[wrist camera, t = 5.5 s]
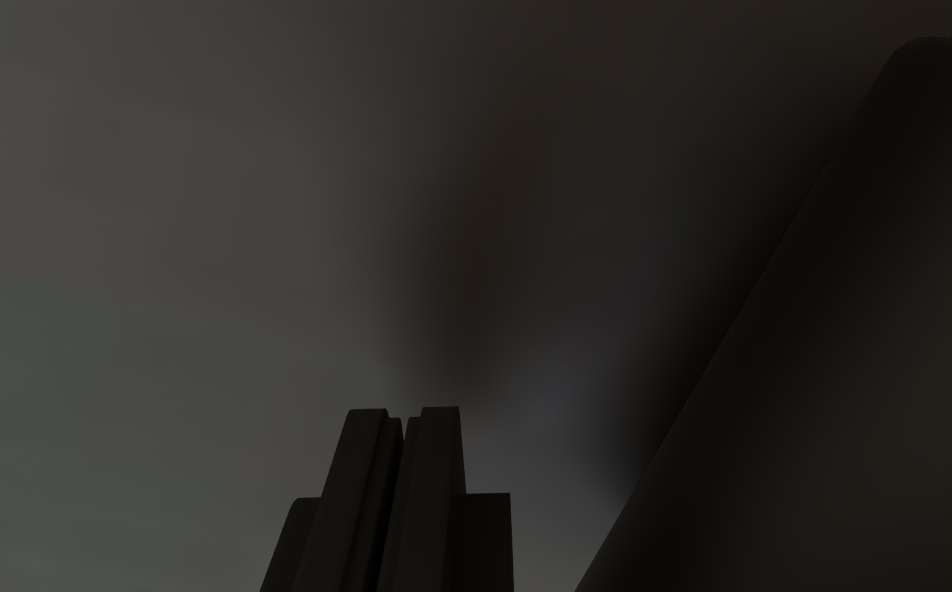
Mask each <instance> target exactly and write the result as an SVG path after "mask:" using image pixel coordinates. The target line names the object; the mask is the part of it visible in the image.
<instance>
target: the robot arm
mask: <svg viewBox="0 0 952 592" xmlns="http://www.w3.org/2000/svg"><path fill="white" fill-rule="evenodd" d="M260 592H514V579H513V550H512V526H511V504H510V493H481V494H466V485H465V472H464V460H463V448H462V436H461V424H460V413H459V407H458V406H451V407H423V408H422V412H421V417H409V419H408V424H407V429H406V434H405V440H404V439H403V431H402V424H401V420H400V418H389V415H388V412H387V410H386V409H385V408H384V409H352V410H350V411H349V412H348V414H347V417H346V420H345V423H344V427H343V430H342V433H341V436H340V439H339V442H338V445H337V448H336V452H335V455H334V458H333V461H332V464H331V467H330V470H329V474H328V477H327V480H326V483H325V486H324V489H323V492H322V495H321V497H316V498H297V499H296V500H295V501H294V502H293V504H292V506H291V508H290V510H289V513H288V516H287V518H286V521H285V524H284V527H283V529H282V532H281V535H280V538H279V540H278V543H277V546H276V548H275V551H274V554H273V557H272V559H271V562H270V565H269V567H268V570H267V573H266V576H265V578H264V581H263V584H262V586H261V589H260Z"/></svg>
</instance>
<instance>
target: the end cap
mask: <svg viewBox="0 0 952 592" xmlns="http://www.w3.org/2000/svg"><path fill="white" fill-rule="evenodd" d="M575 592H952V38H947V37H934V36H930V37H920V38H917V39H914V40H912V41H909V42H907V43H905V44H904V45H903V46H901V47H900V48H898V49H897V50H896V51H894V53H893V54H892V55H891V56H890V58H889V59H888V60H887V62H886V63H885V65H884V67H883V68H882V70H881V72H880V74H879V75H878V77H877V79H876V80H875V82H874V84H873V85H872V87H871V89H870V91H869V92H868V94H867V96H866V97H865V99H864V101H863V102H862V104H861V106H860V108H859V109H858V111H857V113H856V114H855V116H854V118H853V119H852V121H851V123H850V125H849V126H848V128H847V130H846V131H845V133H844V135H843V136H842V138H841V140H840V142H839V143H838V145H837V147H836V148H835V150H834V152H833V153H832V155H831V157H830V159H829V160H828V162H827V164H826V165H825V167H824V169H823V170H822V172H821V174H820V176H819V177H818V179H817V181H816V182H815V184H814V186H813V187H812V189H811V191H810V193H809V194H808V196H807V198H806V199H805V201H804V203H803V204H802V206H801V208H800V209H799V211H798V213H797V215H796V216H795V218H794V220H793V221H792V223H791V225H790V226H789V228H788V230H787V232H786V233H785V235H784V237H783V238H782V240H781V242H780V243H779V245H778V247H777V249H776V250H775V252H774V254H773V255H772V257H771V259H770V260H769V262H768V264H767V266H766V267H765V269H764V271H763V272H762V274H761V276H760V277H759V279H758V281H757V283H756V284H755V286H754V288H753V289H752V291H751V293H750V294H749V296H748V298H747V300H746V301H745V303H744V305H743V306H742V308H741V310H740V311H739V313H738V315H737V317H736V318H735V320H734V322H733V323H732V325H731V327H730V328H729V330H728V332H727V334H726V335H725V337H724V339H723V340H722V342H721V344H720V345H719V347H718V349H717V350H716V352H715V354H714V356H713V357H712V359H711V361H710V362H709V364H708V366H707V367H706V369H705V371H704V373H703V374H702V376H701V378H700V379H699V381H698V383H697V384H696V386H695V388H694V390H693V391H692V393H691V395H690V396H689V398H688V400H687V401H686V403H685V405H684V407H683V408H682V410H681V412H680V413H679V415H678V417H677V418H676V420H675V422H674V424H673V425H672V427H671V429H670V430H669V432H668V434H667V435H666V437H665V439H664V441H663V442H662V444H661V446H660V447H659V449H658V451H657V452H656V454H655V456H654V458H653V459H652V461H651V463H650V464H649V466H648V468H647V469H646V471H645V473H644V475H643V476H642V478H641V480H640V481H639V483H638V485H637V486H636V488H635V490H634V491H633V493H632V495H631V497H630V498H629V500H628V502H627V503H626V505H625V507H624V508H623V510H622V512H621V514H620V515H619V517H618V519H617V520H616V522H615V524H614V525H613V527H612V529H611V531H610V532H609V534H608V536H607V537H606V539H605V541H604V542H603V544H602V546H601V548H600V549H599V551H598V553H597V554H596V556H595V558H594V559H593V561H592V563H591V565H590V566H589V568H588V570H587V571H586V573H585V575H584V576H583V578H582V580H581V582H580V583H579V585H578V587H577V588H576V590H575Z"/></svg>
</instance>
